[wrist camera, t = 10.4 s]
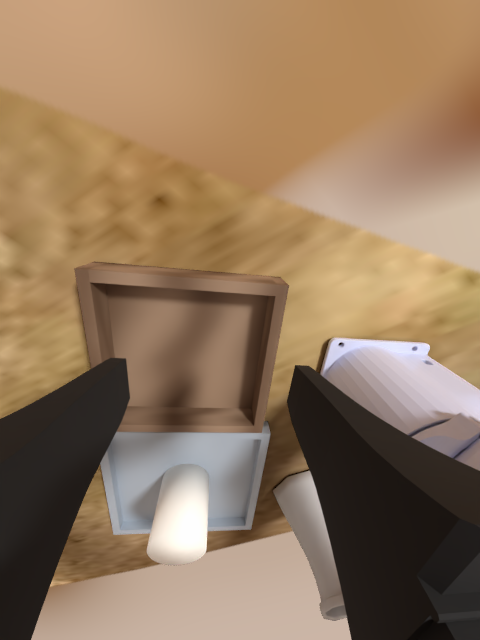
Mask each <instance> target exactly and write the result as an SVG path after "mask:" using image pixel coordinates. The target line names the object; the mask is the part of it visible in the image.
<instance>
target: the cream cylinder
mask: <svg viewBox="0 0 480 640" xmlns="http://www.w3.org/2000/svg"><path fill="white" fill-rule="evenodd" d="M208 501H209V474H208V472H207V471H206V470H205V469H204V468H202V467H200V466H198V465H194V464H179V465H176V466H173V467H171V468H170V469H168V470H167V471H166V472H165V474H164V475H163V479H162V484H161V488H160V493H159V497H158V502H157V506H156V511H155V515H154V520H153V524H152V529H151V533H150V538H149V542H148V547H147V554H148V556H149V557H150V558H151V559H152V560H154V561H155V562H158V563H161V564H165V565H184V564H188V563H192V562H194V561H196V560H198V559H200V558H201V557H202V556H203V555H204V554H205V552H206V548H207V525H208Z"/></svg>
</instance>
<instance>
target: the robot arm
mask: <svg viewBox="0 0 480 640" xmlns="http://www.w3.org/2000/svg"><path fill="white" fill-rule="evenodd" d="M341 342H342V344H341V345H339V343H341ZM413 347H414V348H413ZM412 348H413V349H412ZM429 349H430V346H429V345H428V344H426V343H421V342H403V341H385V340H367V339H349V338H332V339H331V340H330V341H329V343H328V347H327V350H326V354H325V358H324V361H323V365H322V369H321V372H320V374H319V373H318V372H316V371H315V370H314V369H312V368H311V367H309V366H299V365H295V369H294V373H293V378H292V382H291V387H290V391H289V395H288V400H287V403H288V408H289V413H290V417H291V421H292V424H293V427H294V430H295V433H296V435H297V438H298V441H299V443H300V446H301V449H302V451H303V454H304V457H305V459H306V462H307V465H308V467H309V470H310V472H311V475H312V478H313V481H314V484H315V487H316V491H317V494H318V498H319V502H320V505H321V509H322V513H323V516H324V520H325V524H326V528H327V532H328V536H329V540H330V544H331V548H332V552H333V556H334V561H335V565H336V569H337V574H338V578H339V582H340V586H341V591H342V596H343V600H344V605H345V610H346V615H347V619H348V624H349V628H350V634H351V639H352V640H480V390H479V389H477V388H476V387H474V386H473V385H471V384H470V383H468V382H467V381H465V380H464V379H462V378H461V377H459V376H458V375H456V374H455V373H453V372H452V371H450V370H449V369H447V368H446V367H444V366H442V365H441V364H439V363H438V362H436V361H435V360H433V359H432V358H430V357H429V356H427V354H428V351H429ZM129 400H130V392H129V382H128V372H127V362H126V358H109V359H107V360H105V361H104V362H102V363H100V364H99V365H97V366H95V367H94V368H92V369H90V370H89V371H87V372H85V373H84V374H82V375H81V376H79V377H77V378H76V379H74V380H72V381H71V382H69V383H67V384H66V385H64V386H62V387H60V388H59V389H57V390H55V391H53V392H52V393H50V394H48V395H46V396H44V397H43V398H41V399H39V400H37V401H35V402H34V403H32V404H30V405H28V406H26V407H24V408H22V409H20V410H18V411H16V412H14V413H12V414H10V415H8V416H6V417H4V418H2V419H0V640H31V638H32V635H33V632H34V629H35V626H36V623H37V620H38V617H39V615H40V611H41V609H42V606H43V603H44V601H45V598H46V595H47V592H48V589H49V587H50V584H51V581H52V578H53V576H54V573H55V570H56V567H57V565H58V562H59V559H60V557H61V554H62V552H63V549H64V546H65V544H66V541H67V539H68V536H69V533H70V531H71V528H72V526H73V523H74V521H75V518H76V516H77V513H78V511H79V508H80V506H81V503H82V501H83V499H84V496H85V494H86V491H87V489H88V487H89V485H90V483H91V481H92V478H93V476H94V474H95V473H96V471H97V469H98V467H99V465H100V463H101V461H102V459H103V457H104V455H105V453H106V451H107V449H108V447H109V445H110V443H111V441H112V440H113V438H114V436H115V434H116V432H117V430H118V428H119V426H120V424H121V422H122V419H123V417H124V414H125V411H126V408H127V405H128V403H129Z"/></svg>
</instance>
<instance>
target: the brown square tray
mask: <svg viewBox="0 0 480 640" xmlns="http://www.w3.org/2000/svg"><path fill="white" fill-rule="evenodd" d="M74 270H75V276H76V281H77V287H78V293H79V299H80V305H81V311H82V317H83V323H84V329H85V335H86V340H87V346H88V352H89V358H90V364H91V369H92V368H94V367H95V366H97V365H99V364H100V363H102V362H104V361H105V360H107V359H109V358H126V362H127V372H128V382H129V392H130V400H129V403H128V405H127V408H126V411H125V414H124V417H123V419H122V422H121V424H120V426H119V428H118V430H117V432H209V433H262V429H263V424H264V418H265V413H266V408H267V402H268V397H269V391H270V386H271V380H272V375H273V369H274V364H275V359H276V353H277V348H278V342H279V337H280V331H281V326H282V321H283V315H284V310H285V304H286V299H287V293H288V288H289V285H288V284H287V283H286V282H285V281H284V280H283V279H282V278H280V277H271V276H259V275H247V274H235V273H223V272H211V271H199V270H187V269H175V268H163V267H151V266H139V265H127V264H115V263H103V262H92V263H89V264H86V265H83V266H80V267H77V268H74Z"/></svg>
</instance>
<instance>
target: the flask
mask: <svg viewBox="0 0 480 640" xmlns="http://www.w3.org/2000/svg"><path fill="white" fill-rule="evenodd" d="M273 493H274V495H275V497H276V499H277V502H278V504H279V506H280V508H281V510H282V512H283V514H284V515H285V517H286V519H287V521H288V523H289V524H290V526H291V528H292V530H293V532H294V533H295V535H296V537H297V539H298V541H299V543H300V545H301V547H302V549H303V551H304V553H305V555H306V557H307V559H308V561H309V564H310V566H311V569H312V571H313V574H314V576H315V579H316V583H317V586H318V590H319V593H320V598H321V603H320V610H321V614H322V616H323V618H324V619H328V620H332V621H336V620H340V619H344V618H347V615H346V610H345V605H344V600H343V596H342V591H341V586H340V582H339V578H338V574H337V569H336V565H335V561H334V556H333V552H332V548H331V544H330V540H329V536H328V532H327V528H326V524H325V520H324V516H323V513H322V509H321V505H320V502H319V498H318V494H317V491H316V487H315V484H314V481H313V478H312V475H311V472H310V471H306V472H303V473H299V474H296V475H292V476H289V477H287V478H286V479H285V480H284V481H283V482H282V483H281V484H279V485H278V486H277V487H276V488H275V489H274V490H273Z"/></svg>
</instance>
